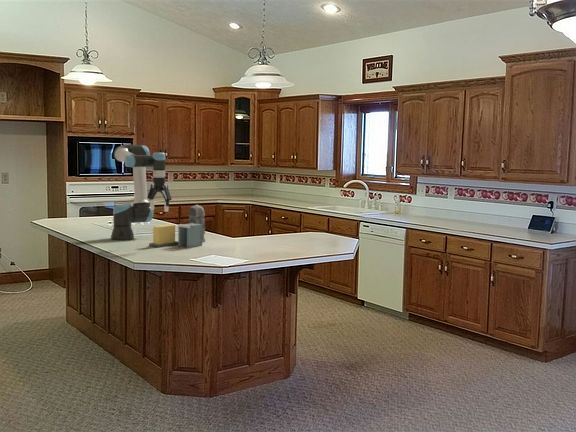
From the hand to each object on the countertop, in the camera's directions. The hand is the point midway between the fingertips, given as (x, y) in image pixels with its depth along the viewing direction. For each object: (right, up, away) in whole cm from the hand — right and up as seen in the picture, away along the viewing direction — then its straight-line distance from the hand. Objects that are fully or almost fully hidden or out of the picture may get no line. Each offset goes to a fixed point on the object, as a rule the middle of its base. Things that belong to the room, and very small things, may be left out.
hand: (159, 210), depth 384 cm
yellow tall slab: (+2, -22, +5) cm, 22 cm away
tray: (+2, -22, +5) cm, 23 cm away
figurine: (+20, -21, +25) cm, 38 cm away
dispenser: (+19, -23, +5) cm, 30 cm away
